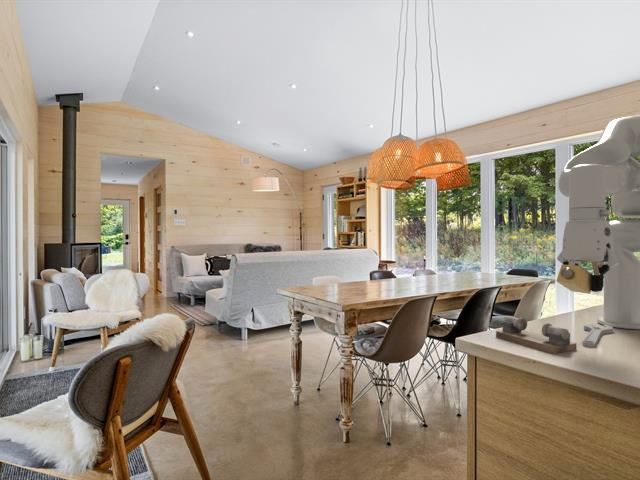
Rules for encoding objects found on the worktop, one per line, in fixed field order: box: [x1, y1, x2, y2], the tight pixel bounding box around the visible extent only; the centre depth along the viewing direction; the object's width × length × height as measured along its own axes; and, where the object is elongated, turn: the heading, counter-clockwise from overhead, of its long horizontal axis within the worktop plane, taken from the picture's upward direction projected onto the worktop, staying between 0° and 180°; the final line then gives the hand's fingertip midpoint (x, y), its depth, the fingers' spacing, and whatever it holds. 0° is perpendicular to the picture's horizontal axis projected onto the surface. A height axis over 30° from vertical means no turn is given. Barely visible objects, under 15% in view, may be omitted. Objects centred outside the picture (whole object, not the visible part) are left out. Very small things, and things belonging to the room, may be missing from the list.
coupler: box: [555, 263, 593, 295], centre depth 97 cm, size 4×4×7 cm
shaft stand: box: [495, 315, 577, 355], centre depth 100 cm, size 8×16×6 cm, turn 25°
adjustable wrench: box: [581, 323, 614, 348], centre depth 107 cm, size 25×6×2 cm, turn 135°
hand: (585, 288), depth 99 cm, fingers closed on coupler, 4 cm apart
